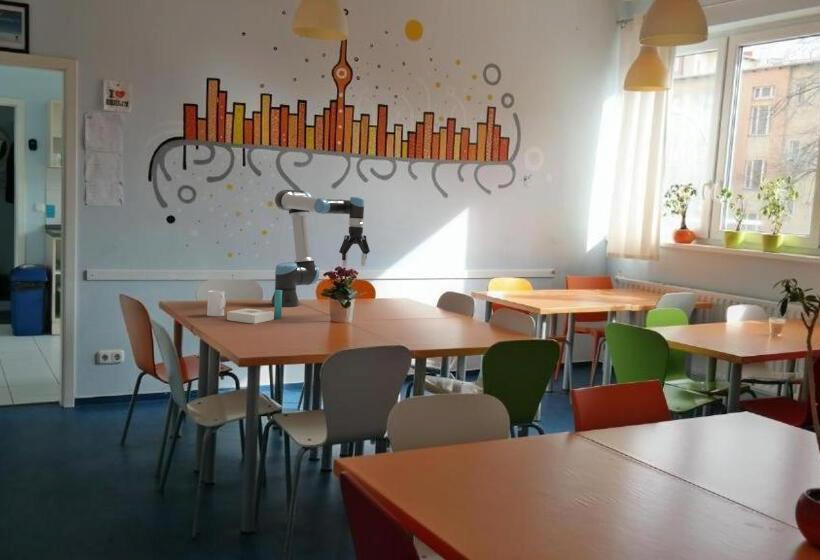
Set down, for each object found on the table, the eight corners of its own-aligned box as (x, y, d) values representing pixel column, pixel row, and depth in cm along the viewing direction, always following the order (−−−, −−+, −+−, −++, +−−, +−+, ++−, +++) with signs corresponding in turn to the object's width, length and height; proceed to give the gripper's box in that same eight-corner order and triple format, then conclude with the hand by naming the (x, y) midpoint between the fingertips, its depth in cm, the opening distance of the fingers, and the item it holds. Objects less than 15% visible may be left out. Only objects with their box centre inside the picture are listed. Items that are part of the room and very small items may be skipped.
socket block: (227, 320, 391) (227, 311, 391) (246, 316, 406) (247, 308, 405) (254, 323, 385) (254, 315, 384) (273, 319, 399) (273, 311, 399)
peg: (272, 318, 403) (273, 290, 402) (276, 317, 407) (277, 289, 405) (278, 319, 402) (279, 291, 400) (282, 318, 405) (283, 290, 404)
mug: (231, 316, 402) (231, 292, 401) (215, 317, 396) (216, 293, 395) (218, 313, 410) (219, 289, 409) (203, 314, 405) (204, 290, 403)
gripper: (343, 226, 418) (341, 267, 420) (377, 226, 436) (375, 266, 438) (333, 225, 423) (331, 266, 425) (367, 225, 441) (365, 264, 443)
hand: (354, 266), depth 432 cm, fingers open, 13 cm apart
